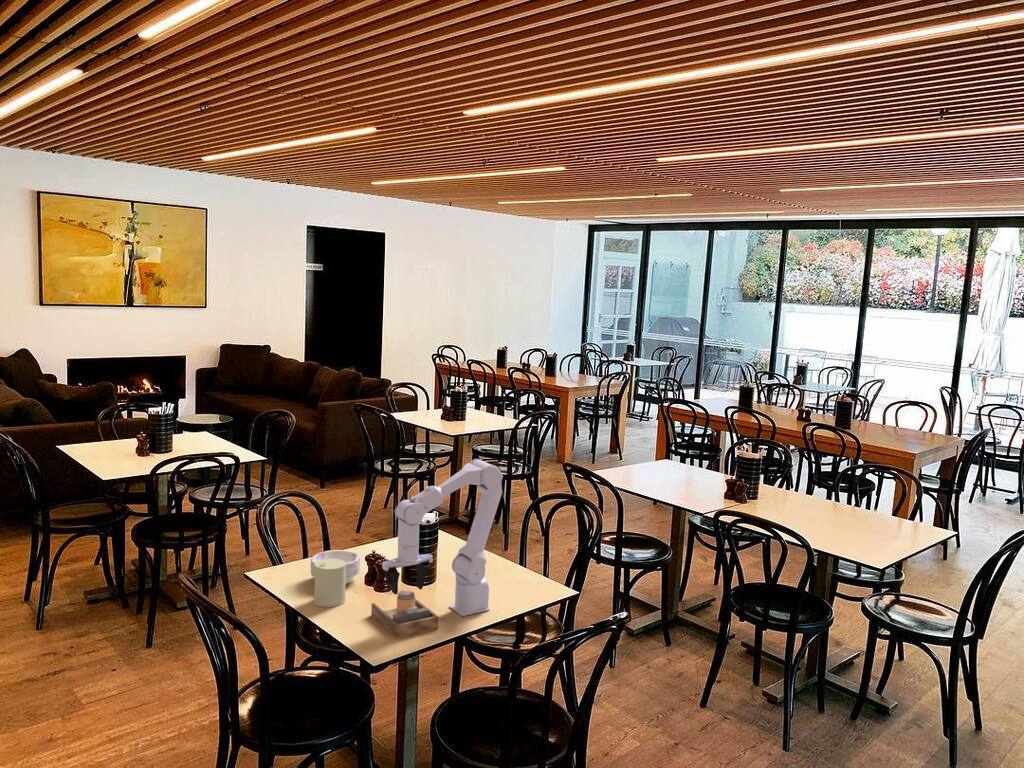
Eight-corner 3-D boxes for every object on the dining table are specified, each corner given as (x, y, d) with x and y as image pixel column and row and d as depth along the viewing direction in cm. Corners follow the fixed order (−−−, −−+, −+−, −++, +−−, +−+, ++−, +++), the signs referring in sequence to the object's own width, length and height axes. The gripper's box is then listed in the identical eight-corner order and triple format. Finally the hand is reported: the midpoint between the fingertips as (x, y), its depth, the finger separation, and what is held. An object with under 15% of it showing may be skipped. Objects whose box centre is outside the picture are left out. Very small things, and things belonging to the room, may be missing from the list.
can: (307, 599, 239) (308, 561, 237) (334, 592, 245) (335, 554, 244) (324, 609, 232) (325, 569, 231) (351, 601, 239) (352, 562, 237)
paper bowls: (311, 573, 260) (311, 549, 259) (359, 571, 263) (360, 548, 262) (309, 591, 245) (309, 566, 244) (359, 589, 248) (360, 564, 247)
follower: (426, 620, 227) (426, 603, 226) (429, 623, 225) (429, 605, 224) (392, 628, 221) (393, 610, 220) (395, 630, 219) (396, 612, 219)
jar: (410, 616, 229) (410, 589, 228) (417, 623, 225) (418, 595, 224) (393, 619, 227) (394, 592, 226) (400, 626, 223) (401, 598, 221)
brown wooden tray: (411, 606, 237) (411, 595, 237) (438, 628, 223) (438, 616, 223) (371, 615, 230) (371, 603, 230) (396, 638, 216) (396, 625, 216)
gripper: (425, 535, 231) (423, 581, 232) (378, 543, 223) (377, 590, 224) (436, 543, 225) (435, 589, 227) (389, 550, 217) (387, 599, 219)
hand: (407, 590), depth 225 cm, fingers open, 7 cm apart
